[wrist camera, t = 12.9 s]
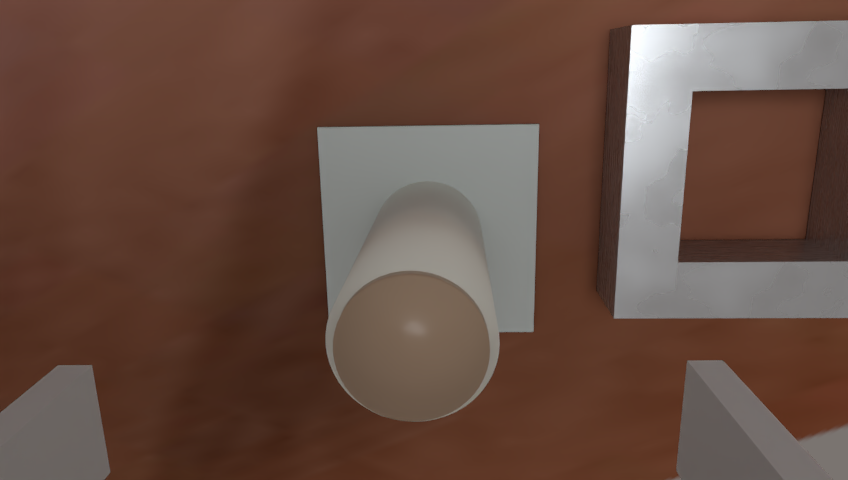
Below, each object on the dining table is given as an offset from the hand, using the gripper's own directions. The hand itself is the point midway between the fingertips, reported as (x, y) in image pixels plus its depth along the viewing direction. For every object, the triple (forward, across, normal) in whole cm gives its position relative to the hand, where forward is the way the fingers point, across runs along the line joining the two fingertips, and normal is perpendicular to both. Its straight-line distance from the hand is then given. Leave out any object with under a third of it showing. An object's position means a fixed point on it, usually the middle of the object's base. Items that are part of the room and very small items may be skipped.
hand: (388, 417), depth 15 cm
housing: (+17, +15, +3) cm, 23 cm away
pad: (+17, +1, 0) cm, 17 cm away
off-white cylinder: (+17, +1, 0) cm, 17 cm away
